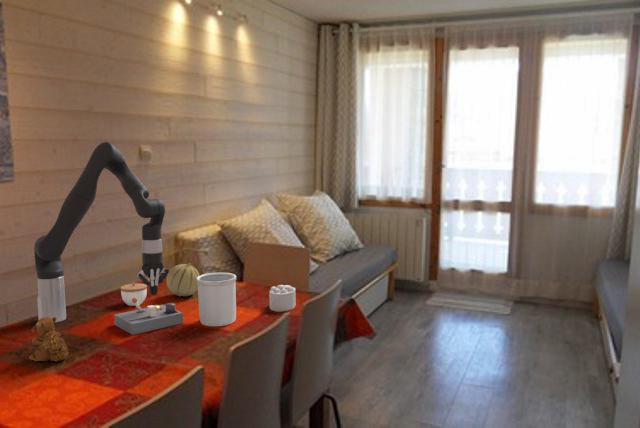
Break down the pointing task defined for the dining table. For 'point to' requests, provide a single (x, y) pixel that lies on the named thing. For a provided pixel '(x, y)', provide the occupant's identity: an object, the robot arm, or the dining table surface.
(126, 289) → the lidded jar
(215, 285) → the utensil holder
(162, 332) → the dining table surface
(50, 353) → the brown teddy bear
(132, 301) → the toggle lever
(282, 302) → the lumpy-topped squat cylinder
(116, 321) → the panel
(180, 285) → the cantaloupe
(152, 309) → the matte white cuboid
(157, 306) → the button brass
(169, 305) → the button dark gray
